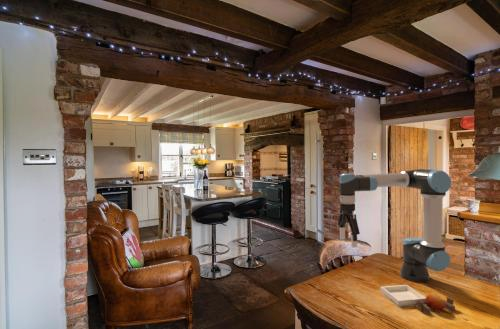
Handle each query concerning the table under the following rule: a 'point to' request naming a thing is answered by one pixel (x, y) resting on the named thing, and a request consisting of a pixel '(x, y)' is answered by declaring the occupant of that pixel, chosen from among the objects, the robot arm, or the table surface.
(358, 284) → the table surface
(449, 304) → the block
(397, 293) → the dish
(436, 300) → the fruit
